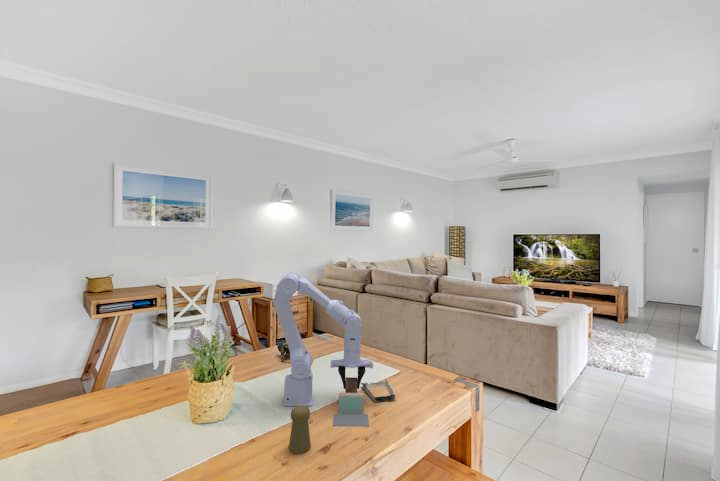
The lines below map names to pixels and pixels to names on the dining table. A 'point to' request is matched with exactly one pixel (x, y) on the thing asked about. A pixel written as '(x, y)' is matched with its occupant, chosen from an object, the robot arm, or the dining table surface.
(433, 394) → the dining table surface
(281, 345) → the pottery mug
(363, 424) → the felt mat
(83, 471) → the dining table surface
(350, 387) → the walnut block
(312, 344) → the dining table surface
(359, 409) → the glazed tile
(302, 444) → the olive green pepper mill
